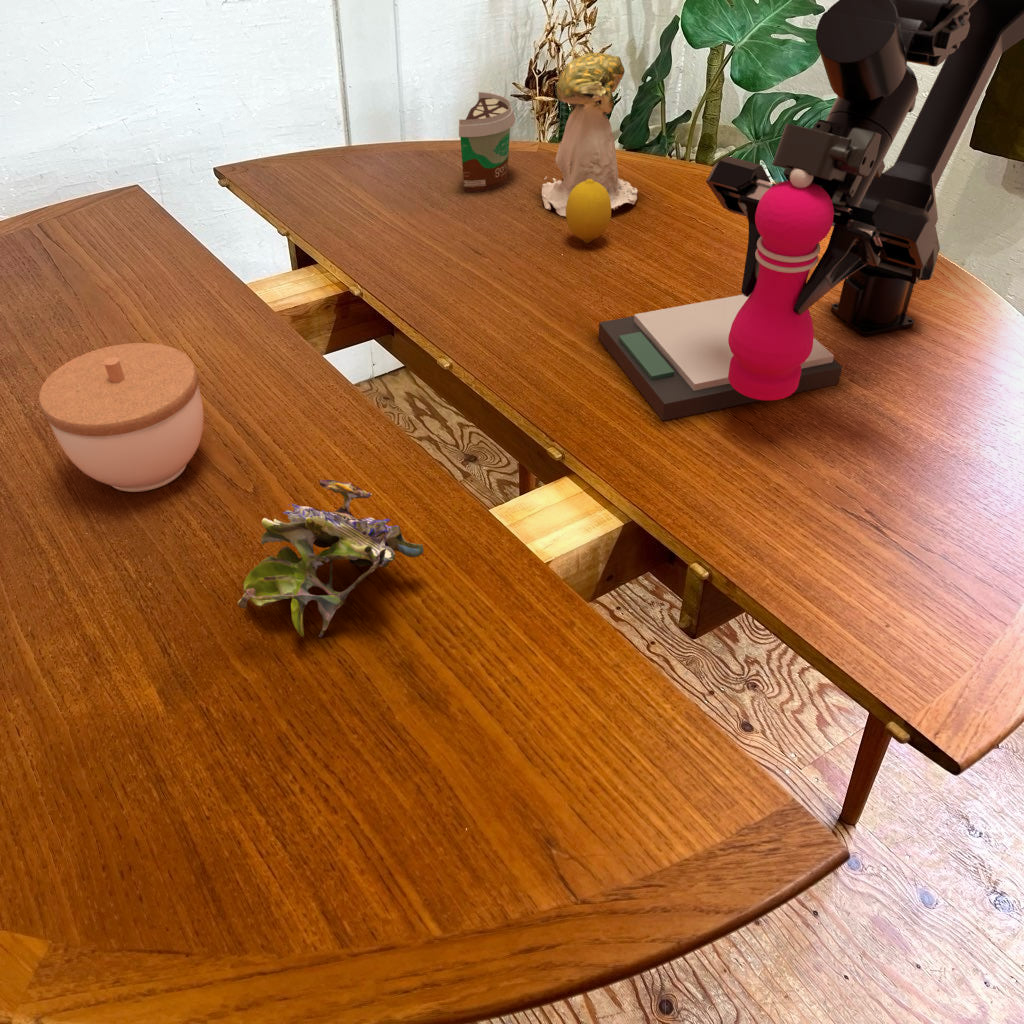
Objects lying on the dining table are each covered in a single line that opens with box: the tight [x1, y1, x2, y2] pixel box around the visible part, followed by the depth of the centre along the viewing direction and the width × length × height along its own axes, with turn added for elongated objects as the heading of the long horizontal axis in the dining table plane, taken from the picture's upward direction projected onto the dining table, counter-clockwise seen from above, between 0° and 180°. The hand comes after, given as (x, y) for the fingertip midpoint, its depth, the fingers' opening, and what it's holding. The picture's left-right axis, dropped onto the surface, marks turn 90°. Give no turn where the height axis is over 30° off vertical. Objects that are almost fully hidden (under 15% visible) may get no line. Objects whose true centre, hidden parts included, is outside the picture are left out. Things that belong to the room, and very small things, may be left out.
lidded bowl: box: [38, 342, 205, 493], centre depth 82 cm, size 13×13×11 cm
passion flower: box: [237, 479, 425, 638], centre depth 71 cm, size 11×11×12 cm
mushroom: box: [541, 52, 639, 218], centre depth 123 cm, size 12×13×18 cm
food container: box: [458, 91, 516, 193], centre depth 132 cm, size 12×6×10 cm, turn 168°
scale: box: [598, 294, 843, 422], centre depth 97 cm, size 19×16×3 cm
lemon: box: [565, 179, 612, 244], centre depth 117 cm, size 6×6×8 cm
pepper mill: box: [728, 168, 834, 401], centre depth 80 cm, size 7×7×20 cm
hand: (769, 303), depth 80 cm, fingers closed on pepper mill, 4 cm apart
